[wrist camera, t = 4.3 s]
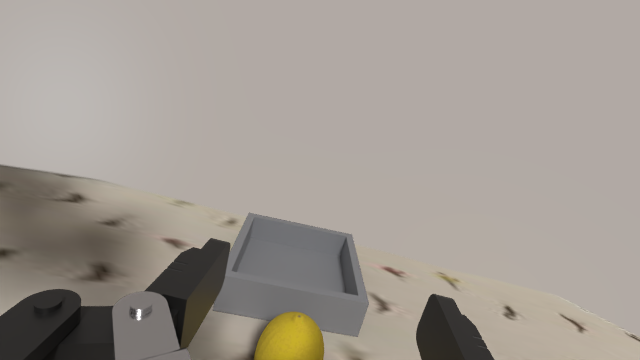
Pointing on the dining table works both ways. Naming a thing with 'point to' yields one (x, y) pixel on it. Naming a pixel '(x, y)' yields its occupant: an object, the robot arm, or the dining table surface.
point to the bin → (294, 275)
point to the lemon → (290, 339)
